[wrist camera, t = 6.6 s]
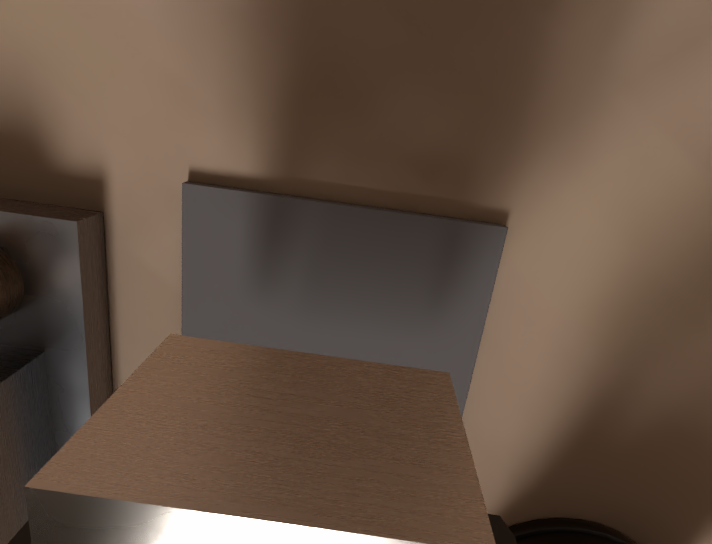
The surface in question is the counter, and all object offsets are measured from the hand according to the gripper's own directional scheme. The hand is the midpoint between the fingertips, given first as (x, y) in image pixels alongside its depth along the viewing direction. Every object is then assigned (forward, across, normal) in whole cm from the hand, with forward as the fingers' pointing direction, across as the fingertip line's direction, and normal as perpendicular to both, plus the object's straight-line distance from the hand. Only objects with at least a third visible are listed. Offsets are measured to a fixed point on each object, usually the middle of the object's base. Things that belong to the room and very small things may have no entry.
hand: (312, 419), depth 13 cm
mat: (+4, 0, 0) cm, 4 cm away
